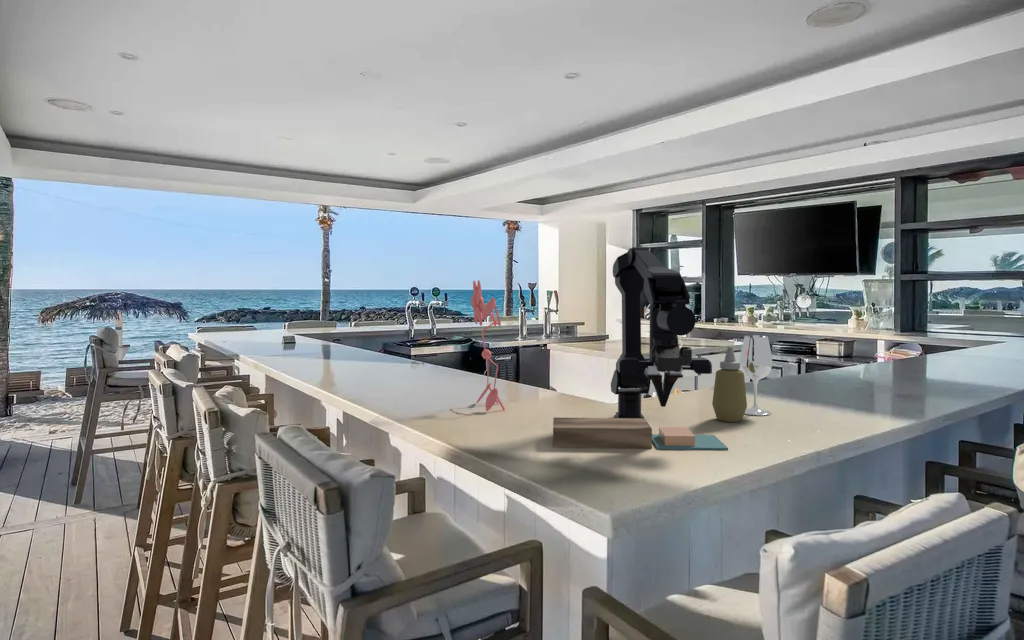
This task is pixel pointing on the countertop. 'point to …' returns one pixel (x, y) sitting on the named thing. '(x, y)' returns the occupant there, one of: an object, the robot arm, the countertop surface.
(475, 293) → the figurine
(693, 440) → the tile
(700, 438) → the mat
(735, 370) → the squeeze bottle
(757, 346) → the wineglass
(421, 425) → the countertop surface
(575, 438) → the platform
